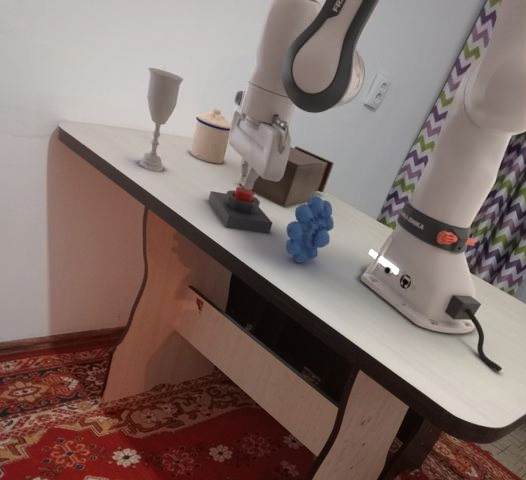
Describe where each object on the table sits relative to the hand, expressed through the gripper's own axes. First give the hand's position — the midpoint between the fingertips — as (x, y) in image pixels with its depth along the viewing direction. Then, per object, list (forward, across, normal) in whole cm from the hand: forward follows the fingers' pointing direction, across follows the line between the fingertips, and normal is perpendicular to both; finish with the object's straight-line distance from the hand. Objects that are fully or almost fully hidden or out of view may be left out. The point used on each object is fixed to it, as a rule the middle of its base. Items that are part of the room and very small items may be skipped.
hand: (245, 186), depth 87 cm
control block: (+6, 0, 0) cm, 6 cm away
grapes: (+6, -18, -6) cm, 20 cm away
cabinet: (+6, +20, -17) cm, 27 cm away
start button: (+2, 0, 0) cm, 2 cm away
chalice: (+6, +22, +13) cm, 26 cm away
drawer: (+5, +27, -26) cm, 38 cm away
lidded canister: (+6, +40, -4) cm, 41 cm away
